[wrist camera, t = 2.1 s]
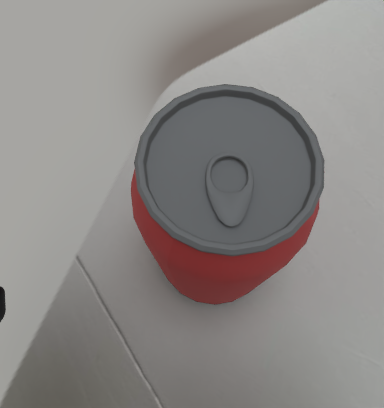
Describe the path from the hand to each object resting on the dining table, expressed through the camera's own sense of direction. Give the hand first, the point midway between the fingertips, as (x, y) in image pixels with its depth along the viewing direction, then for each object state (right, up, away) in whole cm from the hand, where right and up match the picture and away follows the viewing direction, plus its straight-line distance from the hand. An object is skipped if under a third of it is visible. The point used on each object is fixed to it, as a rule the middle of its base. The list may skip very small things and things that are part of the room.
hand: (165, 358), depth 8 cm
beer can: (+2, +1, +13) cm, 13 cm away
